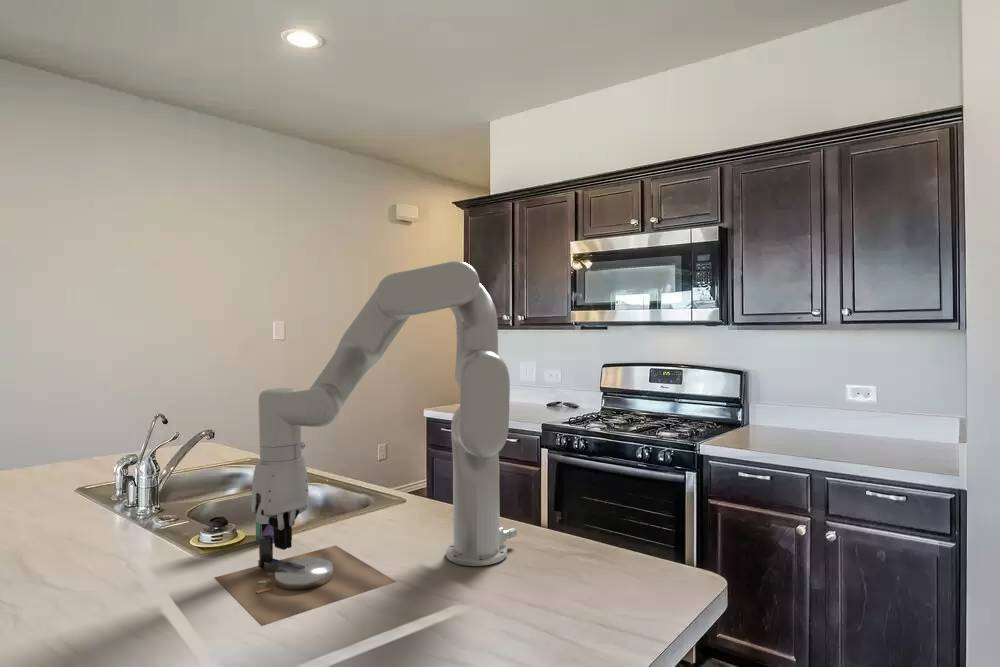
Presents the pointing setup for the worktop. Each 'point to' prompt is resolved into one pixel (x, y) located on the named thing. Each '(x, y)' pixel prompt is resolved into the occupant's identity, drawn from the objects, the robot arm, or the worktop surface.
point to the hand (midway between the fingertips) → (283, 547)
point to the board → (277, 603)
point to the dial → (294, 568)
